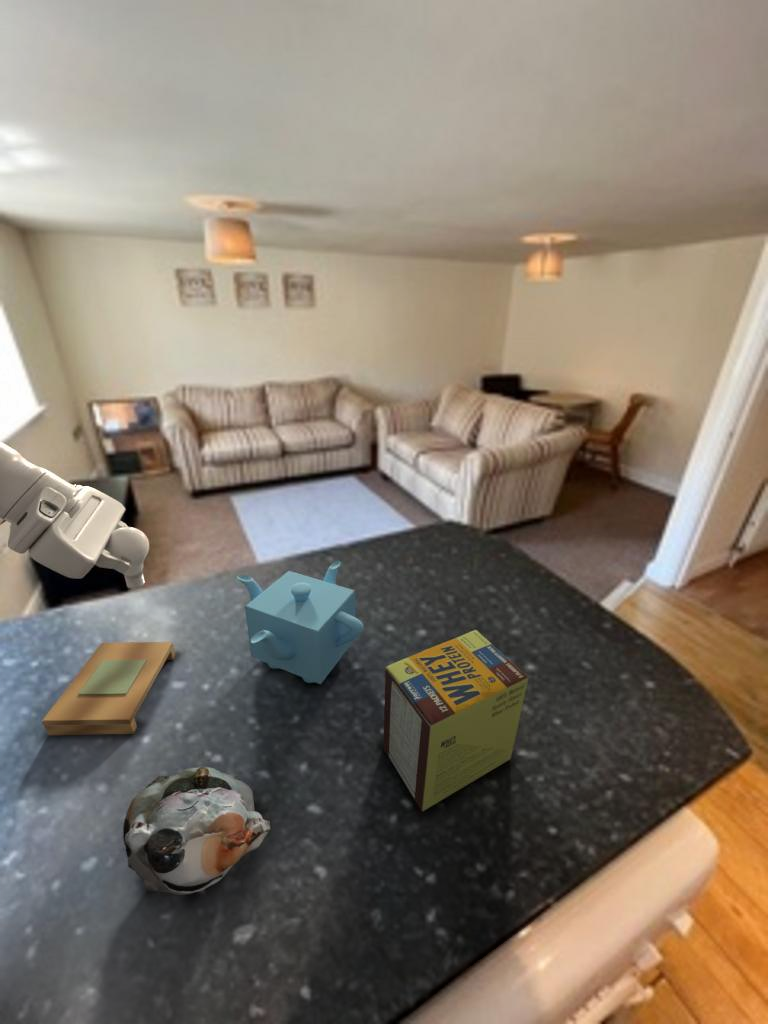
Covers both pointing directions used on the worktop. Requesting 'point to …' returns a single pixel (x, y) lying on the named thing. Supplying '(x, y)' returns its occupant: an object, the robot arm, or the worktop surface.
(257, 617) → the teakettle
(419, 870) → the worktop surface
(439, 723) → the protein box
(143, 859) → the lucky cat figurine
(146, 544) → the lightbulb
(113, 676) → the shelf
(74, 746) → the worktop surface
